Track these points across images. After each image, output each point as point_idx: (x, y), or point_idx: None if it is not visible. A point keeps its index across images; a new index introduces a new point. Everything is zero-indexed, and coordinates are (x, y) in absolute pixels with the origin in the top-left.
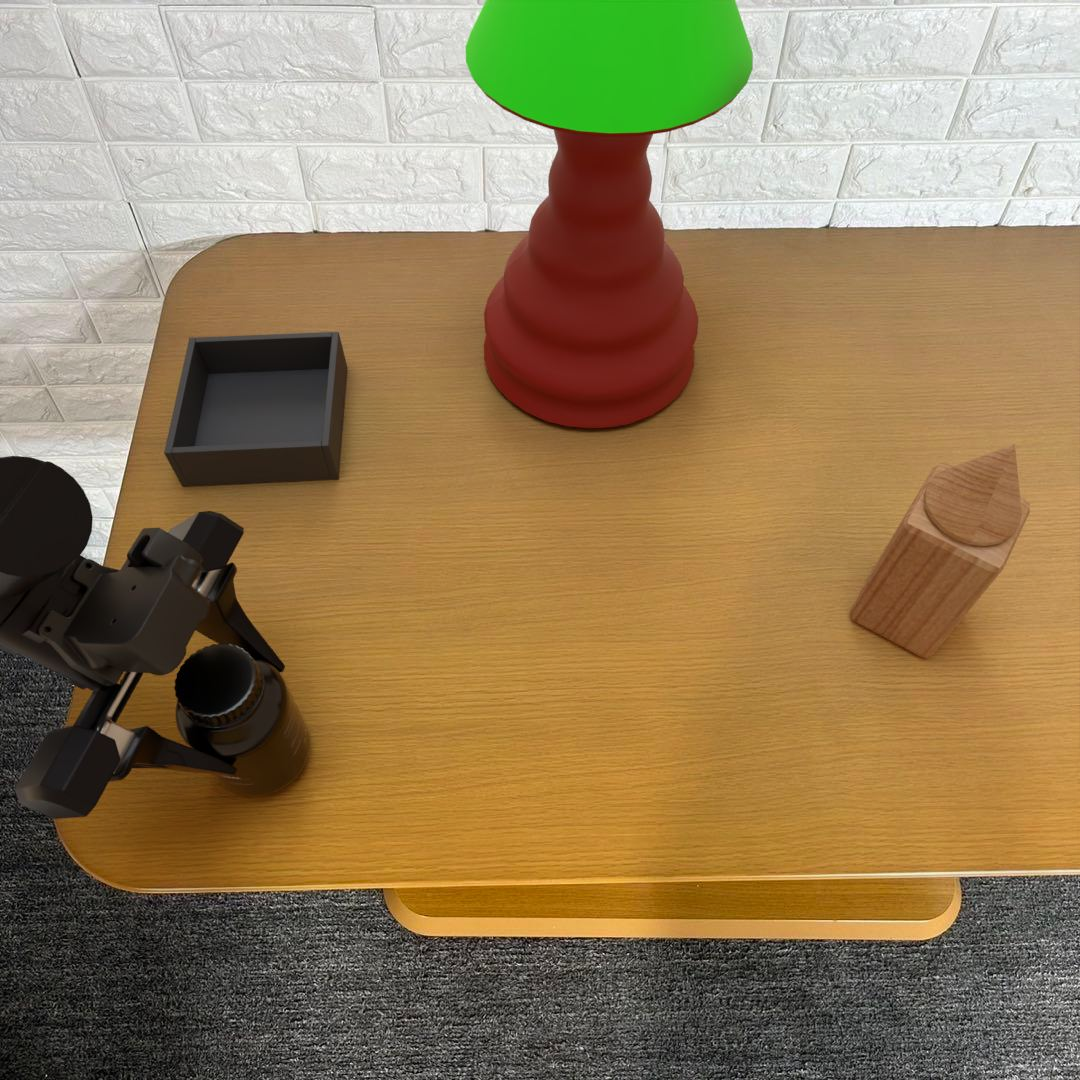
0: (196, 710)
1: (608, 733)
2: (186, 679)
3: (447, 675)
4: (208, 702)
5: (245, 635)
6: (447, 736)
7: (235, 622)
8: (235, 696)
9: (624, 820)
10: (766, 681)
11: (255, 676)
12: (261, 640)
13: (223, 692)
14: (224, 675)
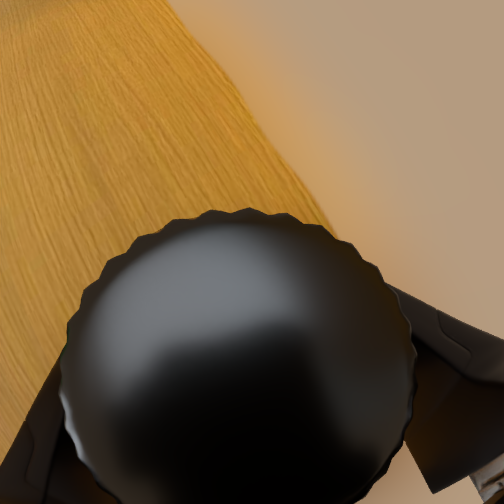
0: (405, 361)
1: (53, 41)
2: (318, 495)
3: (27, 188)
4: (357, 348)
5: (49, 431)
6: (91, 144)
7: (31, 474)
8: (269, 262)
9: (122, 4)
10: (6, 7)
11: (135, 244)
12: (46, 391)
13: (284, 327)
14: (209, 385)
